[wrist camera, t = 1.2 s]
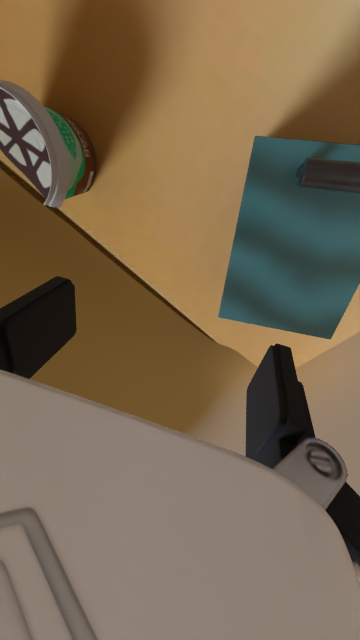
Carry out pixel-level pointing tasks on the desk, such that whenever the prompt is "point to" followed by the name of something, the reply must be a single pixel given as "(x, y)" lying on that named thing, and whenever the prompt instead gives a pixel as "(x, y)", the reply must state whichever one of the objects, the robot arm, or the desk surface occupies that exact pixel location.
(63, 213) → the desk surface
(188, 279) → the desk surface
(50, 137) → the food container
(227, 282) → the sorter lid
